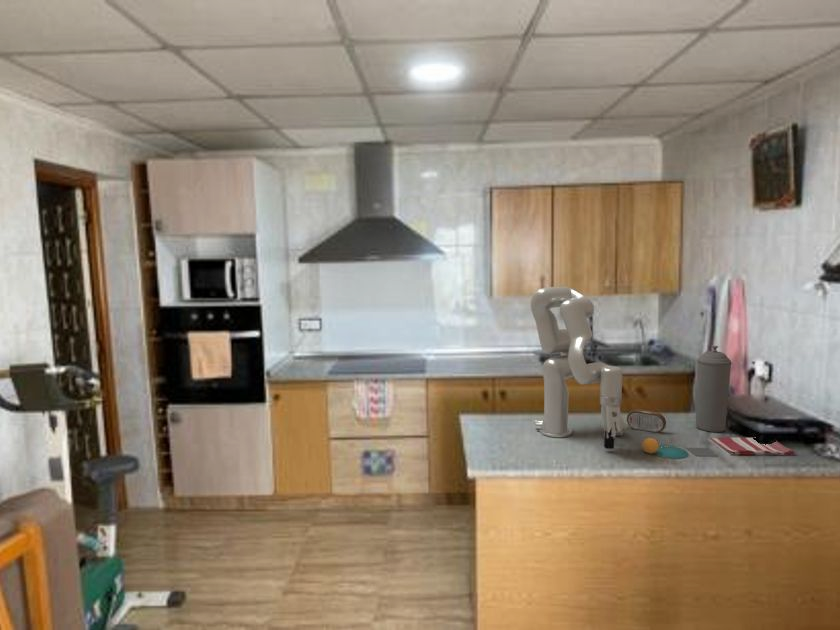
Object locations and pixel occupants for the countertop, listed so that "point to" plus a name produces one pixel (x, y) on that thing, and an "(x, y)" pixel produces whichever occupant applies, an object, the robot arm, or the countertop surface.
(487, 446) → the countertop surface
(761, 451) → the dish towel
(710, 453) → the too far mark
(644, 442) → the ball
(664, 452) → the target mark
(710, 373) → the canister
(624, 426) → the die
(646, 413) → the tin
